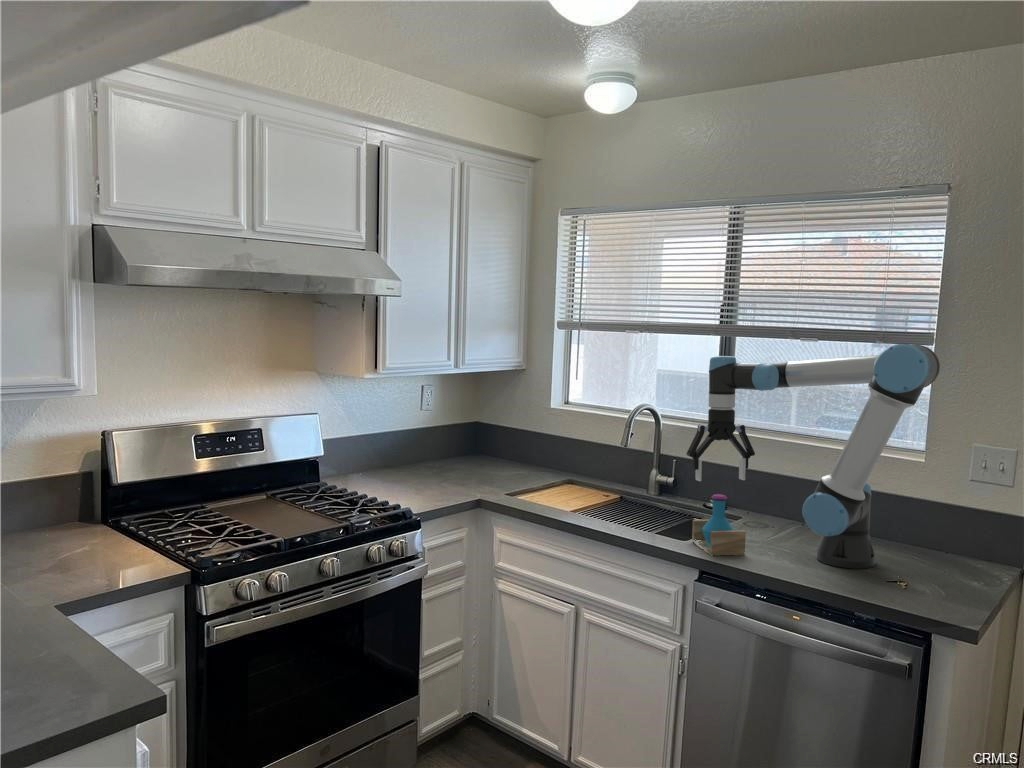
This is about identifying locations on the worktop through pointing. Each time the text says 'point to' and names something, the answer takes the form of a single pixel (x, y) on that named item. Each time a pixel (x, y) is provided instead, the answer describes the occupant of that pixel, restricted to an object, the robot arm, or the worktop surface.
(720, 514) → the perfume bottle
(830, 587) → the worktop surface
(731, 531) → the holder
